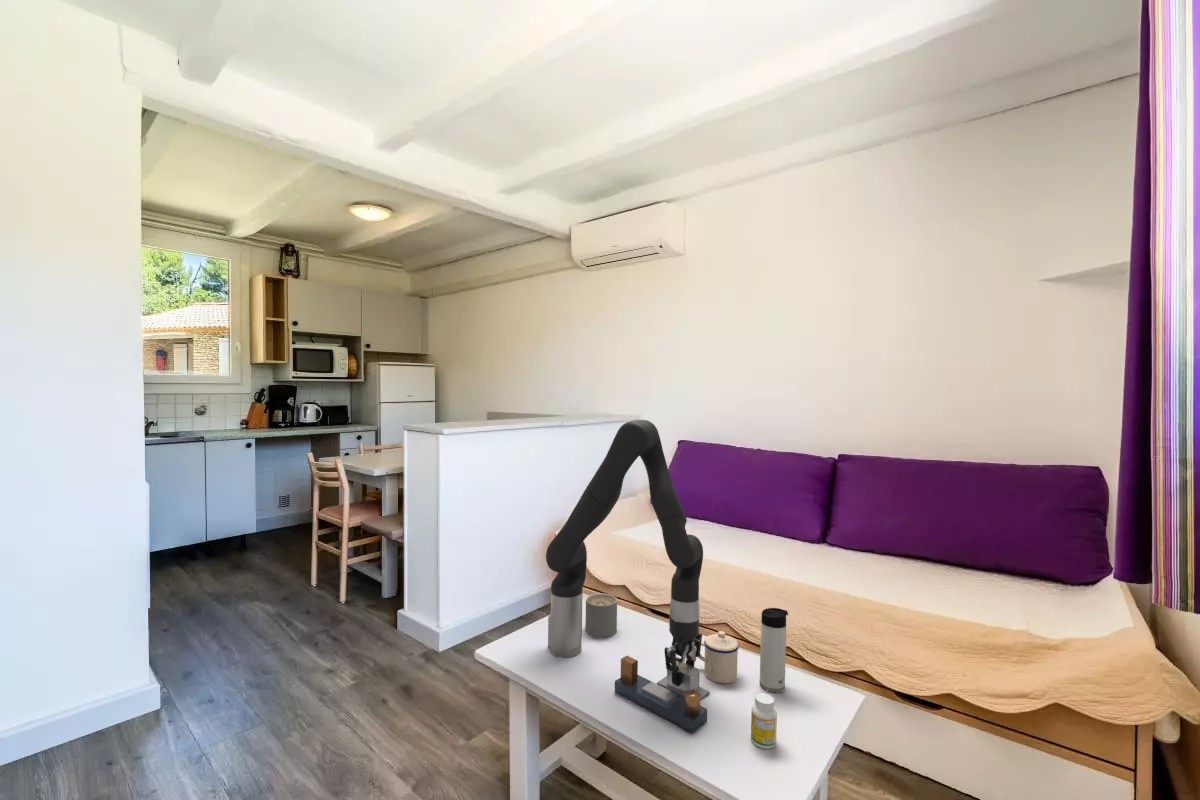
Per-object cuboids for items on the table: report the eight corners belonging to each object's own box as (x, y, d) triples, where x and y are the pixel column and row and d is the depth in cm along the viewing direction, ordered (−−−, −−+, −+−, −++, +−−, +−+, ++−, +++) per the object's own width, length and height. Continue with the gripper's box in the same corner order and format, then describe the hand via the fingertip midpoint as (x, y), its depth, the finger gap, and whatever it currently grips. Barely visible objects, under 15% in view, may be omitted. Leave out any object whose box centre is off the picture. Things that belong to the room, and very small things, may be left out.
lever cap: (666, 685, 136) (667, 662, 136) (676, 678, 139) (677, 656, 139) (689, 696, 131) (690, 673, 131) (699, 689, 134) (699, 666, 134)
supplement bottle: (770, 753, 112) (771, 708, 112) (746, 742, 115) (747, 698, 115) (780, 740, 116) (781, 697, 116) (756, 730, 119) (757, 688, 119)
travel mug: (787, 694, 134) (789, 616, 133) (760, 691, 135) (762, 614, 134) (784, 681, 140) (786, 606, 139) (758, 678, 141) (760, 604, 140)
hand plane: (614, 692, 133) (615, 661, 133) (630, 682, 138) (631, 652, 138) (691, 734, 117) (692, 699, 117) (707, 721, 122) (707, 687, 122)
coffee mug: (601, 641, 160) (601, 608, 160) (578, 630, 167) (579, 599, 167) (630, 627, 170) (630, 596, 169) (607, 617, 176) (608, 588, 176)
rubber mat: (657, 684, 137) (657, 682, 137) (670, 675, 141) (670, 673, 141) (696, 704, 129) (696, 701, 129) (709, 693, 133) (709, 691, 133)
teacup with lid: (742, 673, 143) (743, 630, 143) (730, 688, 136) (731, 643, 136) (701, 659, 150) (702, 619, 150) (688, 673, 143) (688, 630, 143)
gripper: (687, 602, 143) (686, 664, 143) (655, 619, 132) (654, 685, 132) (712, 610, 137) (710, 674, 138) (680, 628, 127) (679, 697, 127)
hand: (683, 679), depth 135 cm, fingers open, 5 cm apart
